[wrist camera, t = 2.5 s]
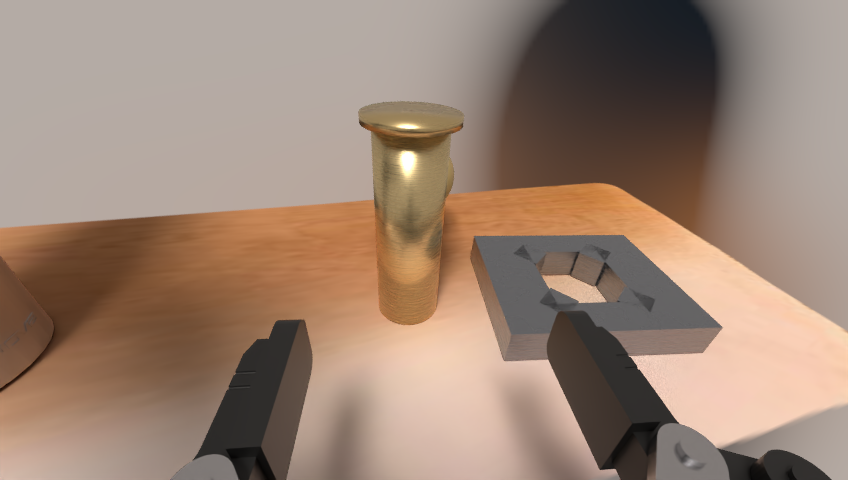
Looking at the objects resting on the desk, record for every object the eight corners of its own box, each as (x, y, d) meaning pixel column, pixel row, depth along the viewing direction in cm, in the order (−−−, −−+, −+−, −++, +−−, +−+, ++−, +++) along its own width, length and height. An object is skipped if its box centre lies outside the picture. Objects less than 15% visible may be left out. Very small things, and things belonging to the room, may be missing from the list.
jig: (504, 360, 21) (511, 334, 20) (470, 258, 30) (474, 236, 29) (702, 352, 23) (722, 327, 21) (613, 256, 32) (623, 235, 30)
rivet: (368, 332, 23) (353, 125, 15) (372, 279, 27) (362, 100, 20) (449, 330, 23) (474, 127, 16) (439, 278, 28) (455, 102, 20)
